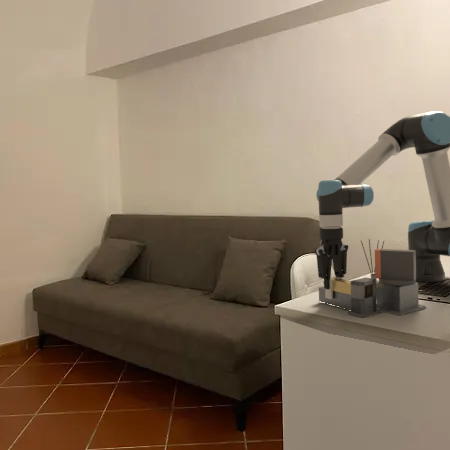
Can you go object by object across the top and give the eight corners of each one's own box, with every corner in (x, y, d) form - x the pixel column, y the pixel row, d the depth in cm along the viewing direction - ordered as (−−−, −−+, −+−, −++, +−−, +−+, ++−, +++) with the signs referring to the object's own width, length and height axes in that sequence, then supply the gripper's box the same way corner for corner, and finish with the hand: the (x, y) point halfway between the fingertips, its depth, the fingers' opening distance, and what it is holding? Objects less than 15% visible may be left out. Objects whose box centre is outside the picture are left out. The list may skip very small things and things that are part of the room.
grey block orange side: (419, 280, 160) (418, 248, 159) (410, 287, 151) (410, 253, 150) (381, 277, 167) (381, 246, 166) (371, 284, 158) (370, 251, 157)
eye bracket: (330, 299, 174) (329, 270, 173) (381, 312, 155) (380, 279, 154) (311, 304, 169) (310, 273, 168) (361, 318, 151) (360, 283, 150)
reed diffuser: (359, 295, 178) (357, 239, 176) (366, 291, 183) (364, 237, 182) (387, 298, 172) (386, 240, 170) (394, 294, 177) (393, 238, 176)
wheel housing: (394, 301, 168) (393, 277, 167) (425, 308, 158) (425, 282, 157) (369, 307, 161) (369, 282, 160) (400, 315, 151) (400, 288, 150)
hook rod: (333, 287, 168) (332, 277, 168) (365, 294, 156) (365, 283, 156) (326, 289, 167) (326, 278, 166) (358, 296, 155) (358, 285, 154)
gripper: (340, 224, 172) (342, 291, 174) (304, 229, 163) (307, 299, 165) (356, 225, 165) (358, 295, 168) (321, 230, 157) (323, 303, 159)
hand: (333, 297), depth 166 cm, fingers closed on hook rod, 3 cm apart
